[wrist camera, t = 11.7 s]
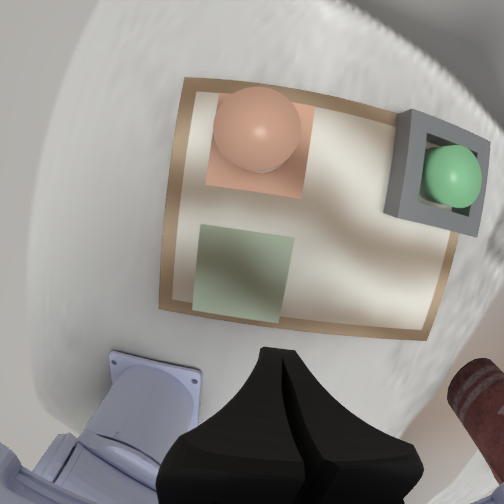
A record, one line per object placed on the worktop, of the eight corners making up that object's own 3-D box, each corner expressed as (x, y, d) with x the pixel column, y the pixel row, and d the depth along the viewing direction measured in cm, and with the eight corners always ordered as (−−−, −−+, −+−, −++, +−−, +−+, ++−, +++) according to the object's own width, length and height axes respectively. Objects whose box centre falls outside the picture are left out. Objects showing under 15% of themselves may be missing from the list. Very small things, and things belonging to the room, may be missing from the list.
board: (423, 337, 22) (427, 342, 21) (161, 305, 22) (157, 310, 21) (468, 142, 18) (473, 142, 17) (186, 79, 18) (184, 76, 17)
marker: (284, 179, 18) (292, 178, 12) (225, 167, 18) (205, 161, 13) (296, 122, 17) (308, 96, 12) (237, 110, 18) (223, 80, 12)
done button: (452, 208, 18) (476, 214, 15) (409, 196, 18) (431, 200, 15) (459, 156, 17) (484, 155, 14) (417, 140, 17) (440, 137, 14)
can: (438, 381, 23) (507, 486, 9) (487, 344, 22) (570, 427, 8) (447, 413, 24) (501, 505, 10) (492, 380, 23) (557, 458, 9)
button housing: (458, 230, 19) (476, 237, 17) (382, 212, 19) (397, 218, 17) (471, 143, 17) (490, 141, 15) (396, 114, 17) (412, 108, 15)
